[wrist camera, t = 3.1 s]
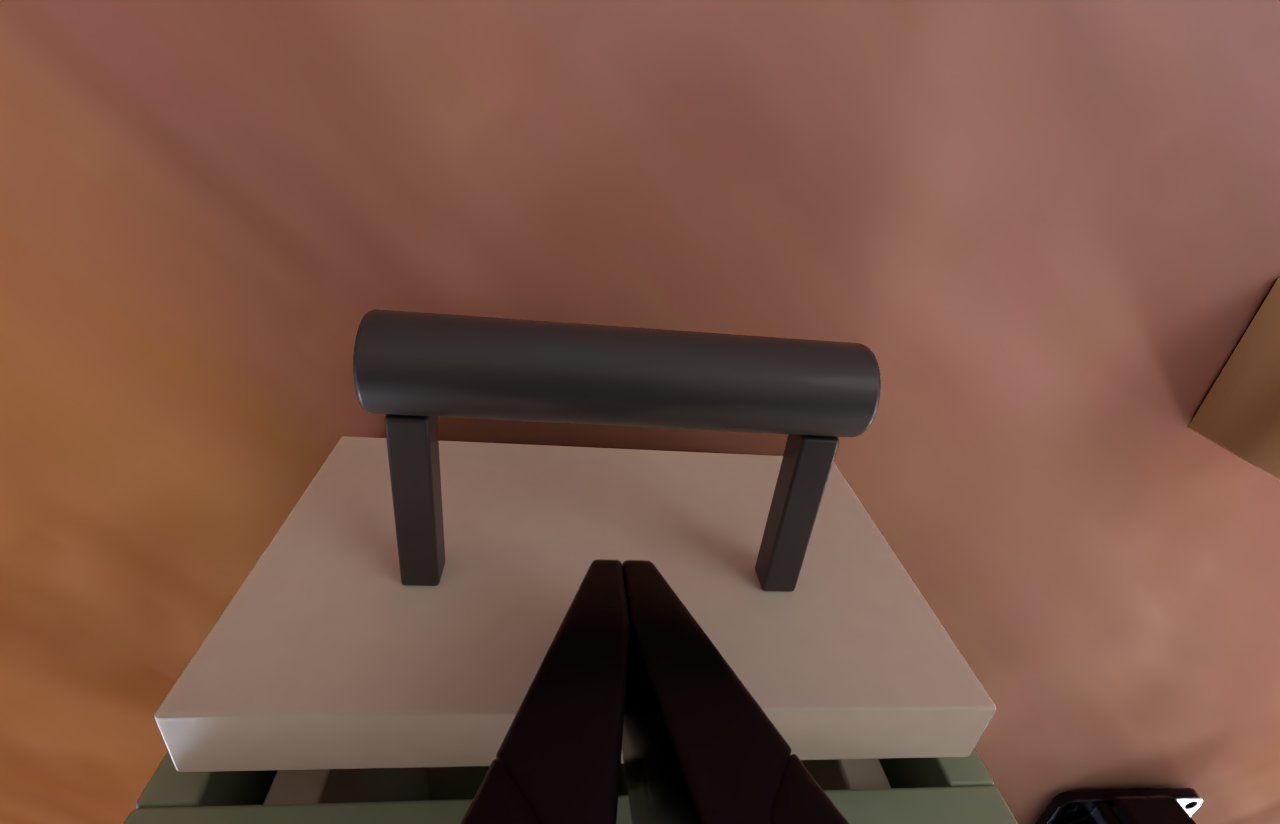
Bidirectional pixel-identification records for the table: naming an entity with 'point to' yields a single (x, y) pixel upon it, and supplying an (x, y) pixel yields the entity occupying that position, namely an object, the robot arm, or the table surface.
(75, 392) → the table surface
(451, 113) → the table surface
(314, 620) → the drawer
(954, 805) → the cabinet
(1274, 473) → the block
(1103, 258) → the table surface
